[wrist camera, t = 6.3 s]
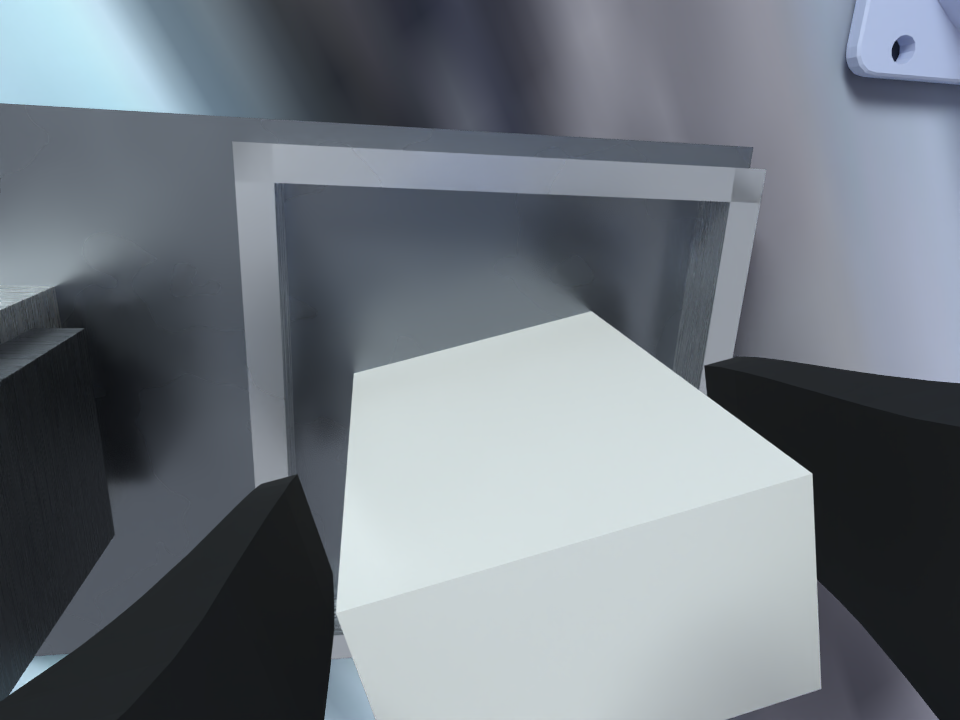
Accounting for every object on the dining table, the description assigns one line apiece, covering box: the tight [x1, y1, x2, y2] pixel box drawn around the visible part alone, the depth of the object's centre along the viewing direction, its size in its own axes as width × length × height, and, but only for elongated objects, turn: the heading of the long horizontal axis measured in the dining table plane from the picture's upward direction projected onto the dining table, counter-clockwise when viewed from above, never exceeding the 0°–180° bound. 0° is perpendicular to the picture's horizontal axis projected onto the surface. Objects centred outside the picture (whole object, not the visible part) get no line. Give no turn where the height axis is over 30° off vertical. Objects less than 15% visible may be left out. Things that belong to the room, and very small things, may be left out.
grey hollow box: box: [0, 103, 766, 701], centre depth 10 cm, size 20×11×8 cm, turn 87°
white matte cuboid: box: [336, 311, 821, 720], centre depth 10 cm, size 4×5×7 cm
